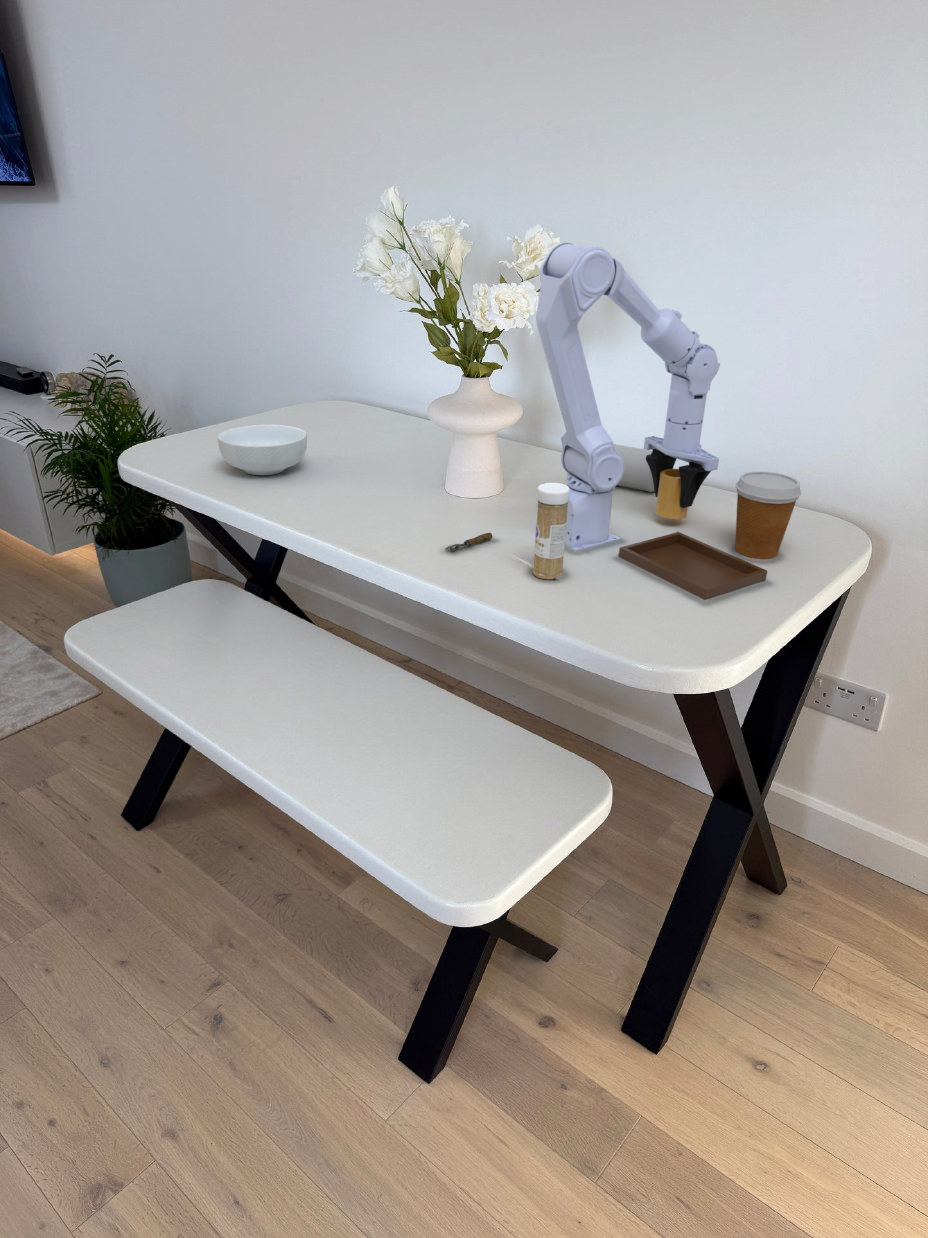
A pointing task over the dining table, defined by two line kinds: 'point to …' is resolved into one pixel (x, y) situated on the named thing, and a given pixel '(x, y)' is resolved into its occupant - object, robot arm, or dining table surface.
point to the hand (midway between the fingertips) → (673, 501)
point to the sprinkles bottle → (550, 530)
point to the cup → (670, 495)
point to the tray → (693, 565)
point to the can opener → (472, 541)
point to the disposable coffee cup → (763, 512)
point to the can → (635, 468)
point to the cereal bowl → (263, 448)
